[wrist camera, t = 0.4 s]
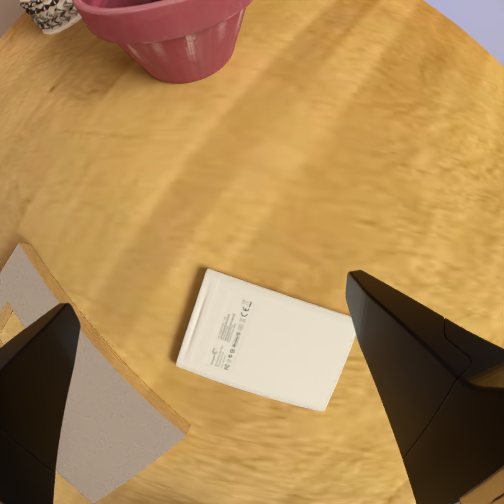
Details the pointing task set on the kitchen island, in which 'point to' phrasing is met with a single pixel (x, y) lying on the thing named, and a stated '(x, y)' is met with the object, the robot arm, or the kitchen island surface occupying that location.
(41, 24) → the decorative candle
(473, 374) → the robot arm
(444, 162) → the kitchen island surface
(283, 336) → the external hard drive
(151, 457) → the plate
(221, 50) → the plant pot
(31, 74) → the kitchen island surface
